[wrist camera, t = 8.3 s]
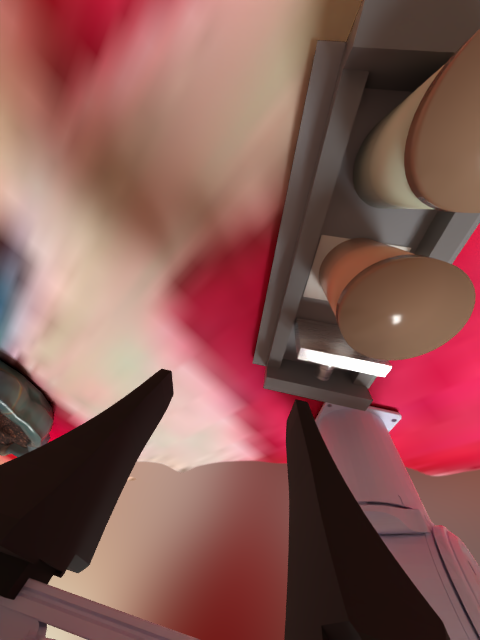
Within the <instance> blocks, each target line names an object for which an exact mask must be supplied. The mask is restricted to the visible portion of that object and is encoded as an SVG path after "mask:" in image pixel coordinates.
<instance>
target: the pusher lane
mask: <svg viewBox="0 0 480 640" xmlns="http://www.w3.org/2000/svg"><path fill="white" fill-rule="evenodd" d="M479 29H480V0H363V1H362V3H361V6H360V9H359V11H358V14H357V16H356V19H355V21H354V24H353V26H352V29H351V31H350V34H349V37H348V39H347V42H339V41H320V40H318V42H317V46H316V51H315V56H314V61H313V66H312V71H311V76H310V81H309V86H308V91H307V96H306V101H305V106H304V110H303V115H302V120H301V125H300V130H299V135H298V140H297V145H296V150H295V155H294V160H293V165H292V170H291V175H290V180H289V185H288V190H287V195H286V200H285V205H284V210H283V215H282V220H281V225H280V230H279V235H278V240H277V245H276V250H275V255H274V260H273V264H272V269H271V274H270V279H269V284H268V289H267V294H266V299H265V304H264V309H263V314H262V319H261V324H260V329H259V334H258V339H257V344H256V349H255V354H254V359H253V364H258V365H263V366H266V367H265V377H264V387H263V388H265V389H269V390H274V391H278V392H283V393H287V394H291V395H296V396H300V397H305V398H309V399H313V400H318V401H322V402H327V403H331V404H335V405H340V406H344V407H349V408H353V409H358V410H362V411H366V410H367V408H368V407H369V405H370V404H371V403H372V401H373V399H372V397H371V395H370V393H369V391H368V389H367V388H369V387H370V386H371V384H372V383H373V381H374V380H375V378H376V377H377V375H372V374H367V373H362V372H358V371H353V370H348V369H343V368H338V367H335V368H334V370H333V372H332V374H331V376H330V378H329V380H327V381H323V380H320V379H318V378H316V377H315V376H314V374H313V370H314V368H315V366H316V363H315V362H310V361H305V360H300V359H297V352H296V342H295V333H294V325H295V322H296V319H297V318H301V319H307V320H312V321H317V322H323V323H328V324H333V325H337V321H336V316H335V314H334V312H333V310H332V308H331V306H330V304H329V302H328V300H327V298H326V296H325V294H324V292H323V290H322V288H321V285H320V282H319V269H320V266H321V264H322V261H323V260H324V258H325V257H326V255H327V254H328V253H329V252H330V251H331V250H332V249H333V248H334V247H336V246H337V245H339V244H340V243H342V242H344V241H347V240H350V239H354V238H369V239H373V240H376V241H379V242H381V243H384V244H387V245H390V246H393V247H396V248H398V249H401V250H404V251H407V252H410V253H413V254H416V255H425V256H428V257H432V258H435V259H438V260H441V261H444V262H447V263H450V264H452V263H453V262H454V260H455V259H456V257H457V256H458V254H459V253H460V251H461V250H462V248H463V247H464V245H465V244H466V242H467V241H468V239H469V238H470V236H471V235H472V233H473V232H474V230H475V229H476V227H477V226H478V224H479V223H480V213H455V212H444V211H439V210H436V209H379V208H374V207H372V206H369V205H367V204H366V203H364V202H363V201H362V200H361V199H360V197H359V196H358V194H357V193H356V190H355V187H354V183H353V168H354V163H355V159H356V156H357V153H358V151H359V149H360V147H361V145H362V143H363V141H364V140H365V138H366V136H367V135H368V134H369V132H370V131H371V130H372V129H373V128H374V127H375V125H376V124H378V123H379V122H380V121H381V120H382V119H383V118H384V117H385V116H386V115H388V114H389V113H390V112H391V111H392V110H393V109H394V108H396V107H397V106H398V105H399V104H400V103H401V102H402V101H404V100H405V99H406V98H407V97H408V96H409V95H410V94H412V93H413V92H414V91H415V90H416V89H417V88H418V87H419V86H421V85H422V84H423V83H424V82H425V81H426V80H427V79H429V78H430V77H431V76H432V75H433V74H434V73H435V72H437V71H438V70H439V69H440V68H441V67H442V66H443V65H445V64H446V62H447V61H448V60H449V59H450V58H451V56H452V55H453V54H454V53H455V52H456V51H457V50H458V49H459V48H460V47H461V46H462V45H463V44H464V43H465V42H466V41H467V40H468V39H469V38H470V37H471V36H472V35H473V34H474V33H476V32H477V31H478V30H479Z"/></svg>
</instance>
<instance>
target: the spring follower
mask: <svg viewBox="0 0 480 640" xmlns="http://www.w3.org/2000/svg"><path fill="white" fill-rule="evenodd" d="M294 333H295V342H296V352H297V359H300V360H305V361H310V362H315V363H316V366H315V368H314V370H313V374H314V376H315V377H316V378H318V379H320V380H323V381H327V380H329V378H330V376H331V374H332V372H333V370H334V368H335V367H338V368H343V369H348V370H353V371H358V372H362V373H367V374H372V375H377V376H382V377H385V376H386V375H387V373H388V372H389V371H390V369H391V368H392V365H391V364H390V363H389V361H388V360H379V359H373V358H370V357H367V356H364V355H362V354H360V353H358V352H356V351H355V350H354V349H352V348H351V347H350V346H349V345H348V344H347V342H346V341H345V339H344V337H343V335H342V333H341V331H340V329H339V327H338V325H333V324H328V323H323V322H317V321H312V320H307V319H301V318H297V319H296V322H295V325H294Z"/></svg>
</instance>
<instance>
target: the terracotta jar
mask: <svg viewBox="0 0 480 640" xmlns="http://www.w3.org/2000/svg"><path fill="white" fill-rule="evenodd" d="M319 282H320V285H321V288H322V290H323V292H324V294H325V296H326V298H327V300H328V302H329V304H330V306H331V308H332V310H333V312H334V314H335V316H336V321H337V325H338V327H339V329H340V331H341V333H342V335H343V337H344V339H345V341H346V342H347V344H348V345H349V346H350V347H351V348H352V349H354V350H355V351H356V352H358V353H360V354H362V355H364V356H367V357H370V358H373V359H379V360H402V359H408V358H413V357H416V356H420V355H423V354H425V353H428V352H430V351H432V350H434V349H436V348H438V347H440V346H442V345H443V344H445V343H446V342H448V341H449V340H450V339H451V338H453V337H454V336H455V335H456V334H457V333H458V332H459V331H460V330H461V329H462V328H463V327H464V325H465V324H466V323H467V321H468V319H469V318H470V316H471V314H472V311H473V308H474V304H475V289H474V286H473V284H472V281H471V280H470V278H469V277H468V275H467V274H466V273H465V272H463V271H462V270H461V269H459V268H458V267H456V266H454V265H452V264H450V263H447V262H444V261H441V260H438V259H435V258H432V257H428V256H425V255H416V254H413V253H410V252H407V251H404V250H401V249H398V248H396V247H393V246H390V245H387V244H384V243H381V242H379V241H376V240H373V239H369V238H354V239H350V240H347V241H344V242H342V243H340V244H339V245H337V246H336V247H334V248H333V249H332V250H331V251H330V252H329V253H328V254H327V255H326V257H325V258H324V260H323V261H322V264H321V266H320V269H319Z"/></svg>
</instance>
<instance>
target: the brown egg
mask: <svg viewBox="0 0 480 640" xmlns="http://www.w3.org/2000/svg"><path fill="white" fill-rule="evenodd" d="M353 183H354V187H355V190H356V193H357V194H358V196H359V197H360V199H361V200H362V201H363V202H364V203H366V204H367V205H369V206H372V207H374V208H379V209H436V210H439V211H444V212H455V213H480V29H479V30H478V31H477V32H476V33H474V34H473V35H472V36H471V37H470V38H469V39H468V40H467V41H466V42H465V43H464V44H463V45H462V46H461V47H460V48H459V49H458V50H457V51H456V52H455V53H454V54H453V55H452V56H451V58H450V59H449V60H448V61H447V62H446V64H445V65H443V66H442V67H441V68H440V69H439V70H438V71H437V72H435V73H434V74H433V75H432V76H431V77H430V78H429V79H427V80H426V81H425V82H424V83H423V84H422V85H421V86H419V87H418V88H417V89H416V90H415V91H414V92H413V93H412V94H410V95H409V96H408V97H407V98H406V99H405V100H404V101H402V102H401V103H400V104H399V105H398V106H397V107H396V108H394V109H393V110H392V111H391V112H390V113H389V114H388V115H386V116H385V117H384V118H383V119H382V120H381V121H380V122H379V123H378V124H376V125H375V127H374V128H373V129H372V130H371V131H370V132H369V134H368V135H367V136H366V138H365V140H364V141H363V143H362V145H361V147H360V149H359V151H358V153H357V156H356V159H355V163H354V168H353Z"/></svg>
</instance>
